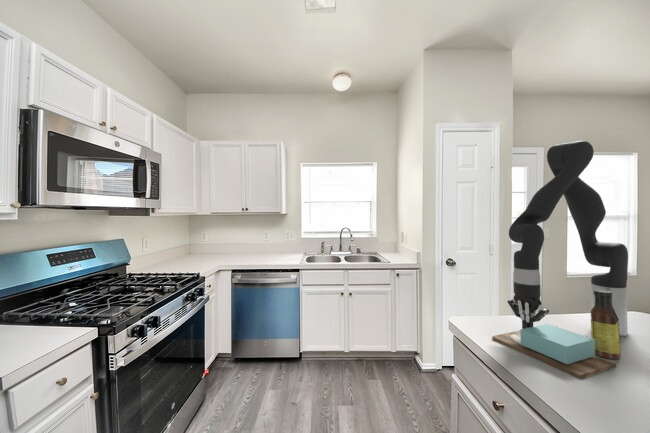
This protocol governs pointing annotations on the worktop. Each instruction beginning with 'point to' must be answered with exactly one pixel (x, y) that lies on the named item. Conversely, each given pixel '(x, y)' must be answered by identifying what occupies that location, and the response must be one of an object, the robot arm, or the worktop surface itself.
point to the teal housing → (558, 343)
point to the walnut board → (575, 368)
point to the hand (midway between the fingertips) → (527, 331)
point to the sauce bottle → (605, 326)
